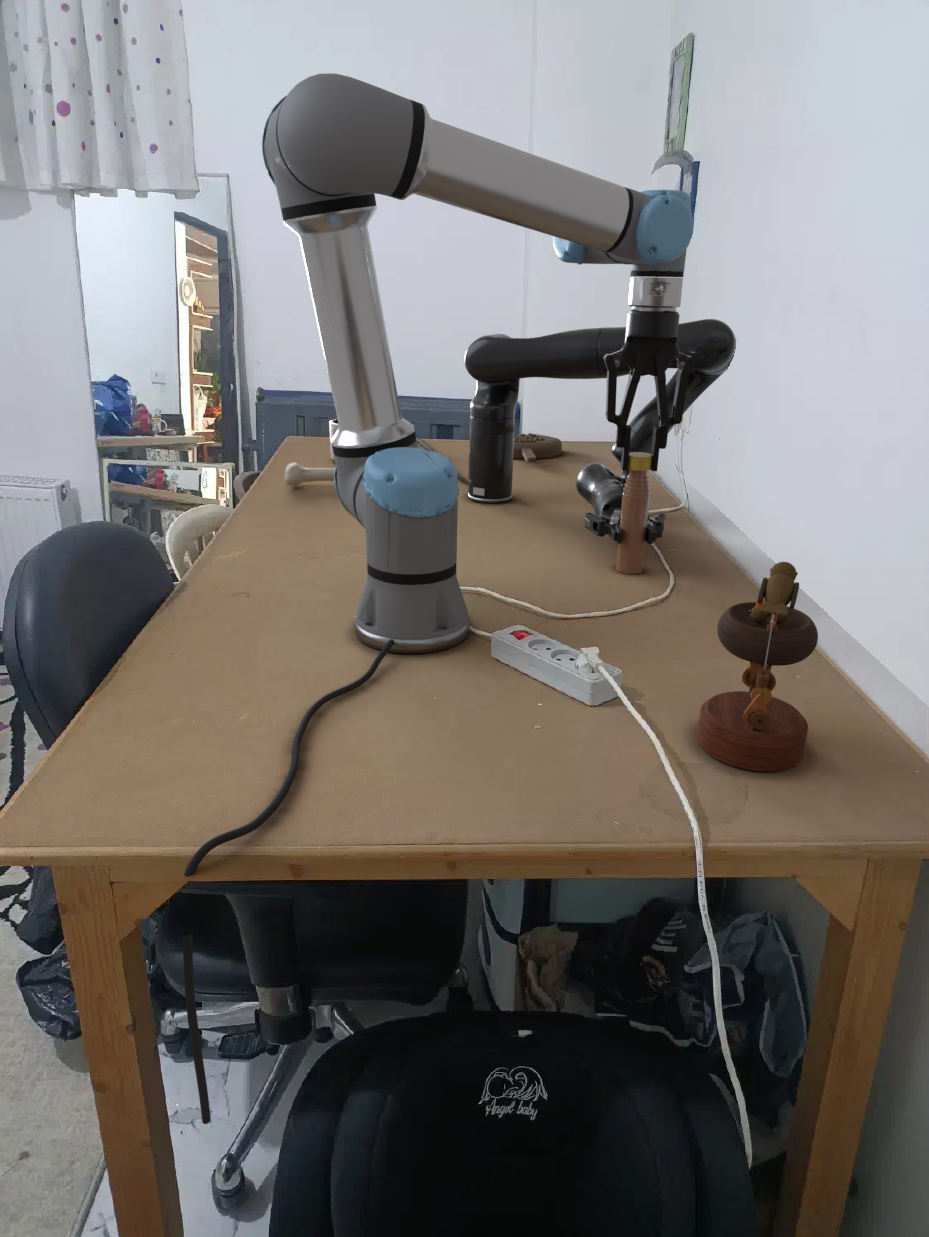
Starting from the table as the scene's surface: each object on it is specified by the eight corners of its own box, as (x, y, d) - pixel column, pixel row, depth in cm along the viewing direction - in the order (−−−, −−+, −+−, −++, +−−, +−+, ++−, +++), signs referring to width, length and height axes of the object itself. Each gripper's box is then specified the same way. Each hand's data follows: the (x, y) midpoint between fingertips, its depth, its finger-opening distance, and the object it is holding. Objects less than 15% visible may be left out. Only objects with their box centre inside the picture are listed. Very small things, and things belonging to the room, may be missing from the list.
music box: (826, 784, 80) (847, 586, 73) (707, 784, 81) (715, 589, 74) (787, 708, 94) (802, 535, 87) (686, 708, 95) (692, 539, 88)
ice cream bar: (489, 468, 207) (489, 450, 206) (481, 446, 233) (482, 430, 232) (574, 468, 208) (575, 451, 207) (557, 446, 234) (558, 431, 233)
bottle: (613, 572, 137) (623, 459, 130) (618, 564, 141) (628, 454, 134) (639, 575, 136) (651, 462, 129) (644, 567, 139) (655, 456, 132)
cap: (645, 465, 134) (646, 451, 133) (655, 470, 130) (656, 456, 130) (622, 465, 133) (623, 452, 132) (631, 471, 130) (632, 457, 129)
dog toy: (375, 480, 193) (375, 458, 191) (377, 486, 187) (376, 464, 186) (285, 482, 190) (284, 460, 188) (284, 489, 184) (283, 466, 182)
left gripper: (597, 309, 120) (586, 472, 129) (718, 311, 119) (698, 475, 128) (593, 307, 127) (582, 462, 136) (707, 309, 126) (688, 465, 135)
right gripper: (578, 488, 147) (592, 514, 132) (659, 489, 148) (683, 515, 132) (575, 529, 150) (589, 559, 134) (655, 530, 150) (678, 561, 135)
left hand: (638, 468), depth 132 cm, fingers closed on cap, 4 cm apart
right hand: (635, 537), depth 133 cm, fingers closed on bottle, 4 cm apart
